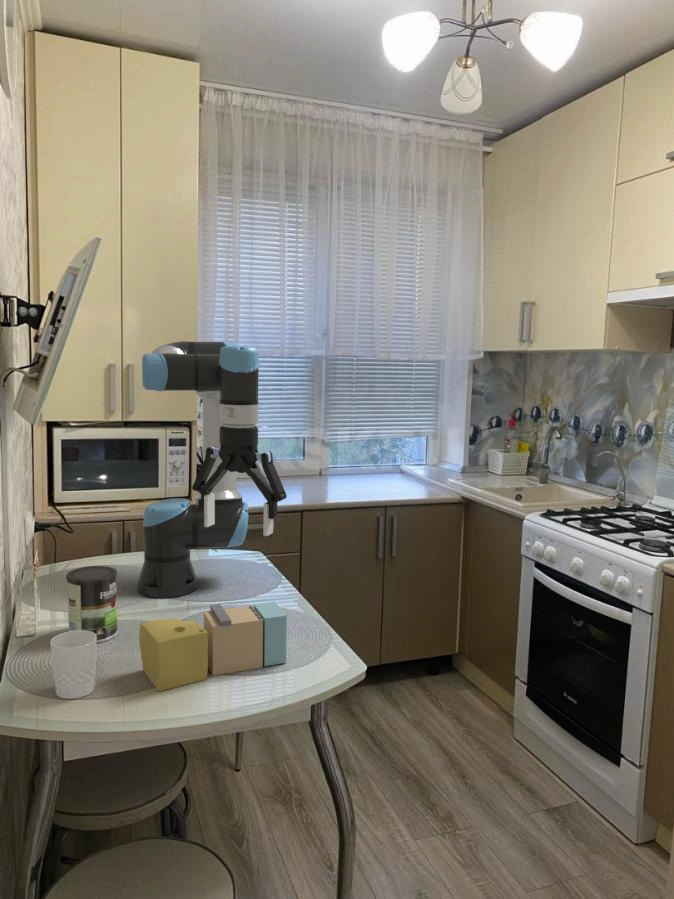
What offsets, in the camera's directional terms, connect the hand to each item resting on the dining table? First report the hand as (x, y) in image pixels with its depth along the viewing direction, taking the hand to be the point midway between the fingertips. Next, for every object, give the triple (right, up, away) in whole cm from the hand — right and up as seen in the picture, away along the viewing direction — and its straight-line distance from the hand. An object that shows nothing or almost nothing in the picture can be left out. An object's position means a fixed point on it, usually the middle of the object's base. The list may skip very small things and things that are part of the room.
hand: (238, 529), depth 137 cm
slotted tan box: (-1, -27, 0) cm, 27 cm away
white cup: (-28, -28, -12) cm, 42 cm away
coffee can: (-34, -25, +12) cm, 43 cm away
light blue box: (+6, -27, +3) cm, 27 cm away
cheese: (-12, -28, -6) cm, 31 cm away
